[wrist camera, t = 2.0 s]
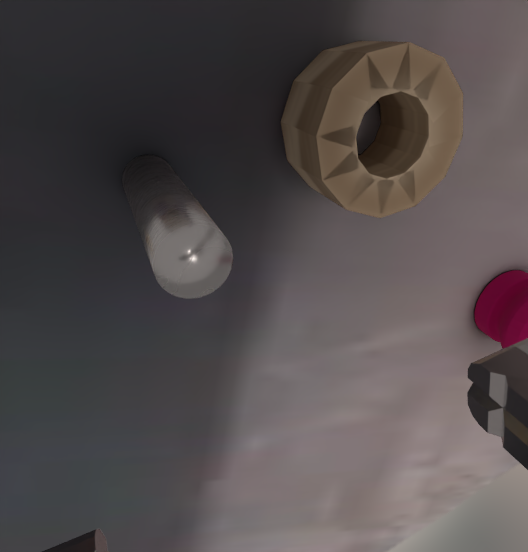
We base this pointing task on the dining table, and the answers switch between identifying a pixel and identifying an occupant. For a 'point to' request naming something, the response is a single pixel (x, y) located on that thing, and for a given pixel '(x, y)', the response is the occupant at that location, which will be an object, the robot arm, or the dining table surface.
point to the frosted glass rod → (175, 230)
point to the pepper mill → (504, 308)
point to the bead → (392, 132)
